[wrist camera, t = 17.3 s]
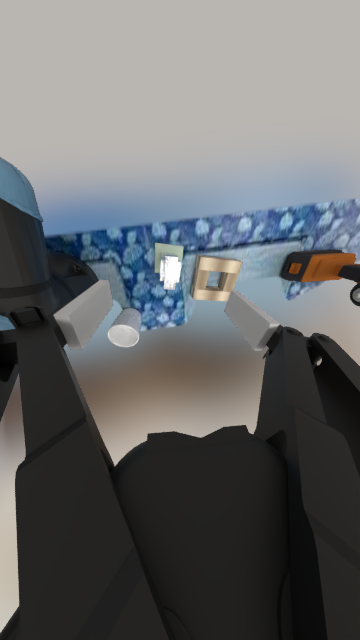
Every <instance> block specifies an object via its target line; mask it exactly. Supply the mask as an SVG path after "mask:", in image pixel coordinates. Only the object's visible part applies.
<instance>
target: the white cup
mask: <svg viewBox="0 0 360 640" xmlns="http://www.w3.org/2000/svg"><path fill="white" fill-rule="evenodd" d="M141 321H142V316H141V314H140V312H139V311H137V310H136V309H133V308H126V309H124V310H123V311H122V312H121V313H120V315H119V316H118V317H117V319H116V320H115V321H114V323H113V324H112V326H111V327H110V329H109V331H108V338H109V339H110V341H111V342H112V343H114V344H115V345H117V346H121V347H130V346H133V345H135V344H136V343H137V342H138V339H139V334H140V329H141Z"/></svg>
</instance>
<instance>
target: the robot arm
mask: <svg viewBox="0 0 360 640" xmlns="http://www.w3.org/2000/svg"><path fill="white" fill-rule="evenodd" d="M42 222H43V219H42V217H41V216H40V213H39V210H38V206H37V202H36V198H35V194H34V190H33V188H32V186H31V184H30V182H29V181H28V179H27V178H26V177H25V176H24V175H23V174H22V173H21V172H20V171H19V170H18V169H17V168H16V167H14V166H13V165H12V164H10V163H9V162H7V161H6V160H4V159H2V158H1V157H0V421H1V418H2V416H3V413H4V410H5V408H6V405H7V402H8V400H9V397H10V395H11V392H12V389H13V386H14V384H15V381H16V378H17V376H18V373H19V377H20V388H21V401H22V411H23V423H24V434H25V446H26V457H25V460H24V461H23V462H22V463H21V464H20V465H19V466H18V468H17V471H16V478H15V497H16V522H17V548H18V549H17V550H18V576H19V577H18V578H19V607H18V608H17V610H16V611H15V613H14V614H13V616H12V617H11V618H10V620H9V621H8V623H7V624H6V626H5V627H4V629H3V630H2V632H1V633H0V640H360V366H359V365H358V364H357V363H356V362H355V361H354V360H353V359H352V358H351V357H350V356H349V355H348V354H347V353H346V352H345V351H344V350H343V349H342V348H341V347H340V346H339V345H338V344H337V343H336V342H335V341H334V340H332V339H331V338H329V337H328V336H326V335H324V334H319V333H313V334H312V336H311V337H310V338H309V337H304V336H303V334H302V333H301V332H299V331H298V330H296V329H294V328H291V327H282V326H281V325H280V324H279V323H278V322H276V321H275V320H274V319H273V318H271V317H270V316H269V315H268V314H266V313H265V312H264V311H263V310H261V309H260V308H259V307H258V306H256V305H255V304H254V303H252V302H251V301H250V300H249V299H247V298H246V297H245V296H244V295H242V294H241V293H240V292H239V291H235V290H231V293H230V296H229V298H228V301H227V304H226V307H225V310H224V311H225V313H226V314H227V315H228V317H229V318H230V319H231V320H232V322H233V323H234V325H235V326H236V327H237V329H238V330H239V331H240V332H241V334H242V335H243V336H244V338H245V339H246V340H247V342H248V343H249V344H250V345H251V347H252V348H253V349H254V350H256V351H257V350H258V351H261V350H263V349H264V347H265V346H266V345H267V346H268V348H269V349H268V351H267V352H266V353H265V355H264V356H263V359H264V358H265V357H266V361H265V368H264V375H263V383H262V390H261V398H260V405H259V413H258V421H257V427H256V430H255V432H254V434H250V433H249V432H248V429H247V427H246V425H241V426H230V427H223V428H221V429H219V430H217V431H215V432H213V433H211V434H209V435H207V436H205V437H202V438H198V437H195V436H190V435H186V434H182V433H178V432H174V431H173V432H162V433H151V434H148V436H147V441H145V442H143V443H141V444H139V445H138V446H136V447H134V448H133V449H132V450H131V451H129V452H128V453H127V454H126V455H125V456H124V457H123V458H122V459H121V460H120V461H119V462H118V464H117V465H116V466H114V463H113V461H112V459H111V456H110V454H109V452H108V450H107V448H106V446H105V444H104V442H103V439H102V437H101V435H100V433H99V430H98V428H97V425H96V423H95V421H94V418H93V416H92V414H91V411H90V409H89V407H88V404H87V402H86V400H85V397H84V395H83V393H82V390H81V388H80V386H79V383H78V381H77V378H76V376H75V374H74V371H73V369H72V367H71V364H70V362H69V360H68V357H67V355H66V353H65V350H64V349H63V347H64V346H65V345H66V344H68V346H69V348H70V349H81V350H82V349H83V348H84V346H85V345H86V344H87V342H88V341H89V339H90V338H91V336H92V335H93V334H94V332H95V331H96V329H97V328H98V326H99V325H100V324H101V322H102V321H103V319H104V318H105V316H106V315H107V313H108V312H109V311H110V309H111V308H112V306H113V301H112V295H111V290H110V284H109V280H99V281H98V278H97V277H96V275H95V273H94V272H93V271H92V270H91V269H90V267H89V266H87V265H86V264H85V263H84V262H82V261H81V260H79V259H78V258H76V257H74V256H72V255H69V254H66V253H62V252H50V253H47V248H46V243H45V238H44V232H43V226H42ZM321 358H322V362H321V364H320V365H319V366H318V365H317V364H316V363H317V362H318V361H319V360H320V359H321Z"/></svg>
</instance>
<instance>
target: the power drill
mask: <svg viewBox="0 0 360 640" xmlns="http://www.w3.org/2000/svg"><path fill="white" fill-rule="evenodd" d="M355 256H356V254H352V253H344V252H342V250H319V251H303V252H293V253H292V254H290V255H289V257H288V260H287V263H286V266H285V269H284V271H283V274H282V277H281V278H283V279H286V280H289V281H299V282H312V281H325V280H339V279H341V278H345V279H349V280H353V281H355V282H357V285H355V286H354V288H353V289H352V290H351V292H350V299H351V301H352V302H353V303H354V304H355V305H357V306H360V264H354V262H355V260H356V258H355Z"/></svg>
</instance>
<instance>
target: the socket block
mask: <svg viewBox="0 0 360 640" xmlns="http://www.w3.org/2000/svg"><path fill="white" fill-rule="evenodd" d="M242 263H243V262H242V261H239V260H236V259H229V258H221V257H213V256H204V255H197V260H196V266H195V271H194V277H193V283H192V289H191V296H192V298H193V299H199V300H214V301H228V298H229V296H230V293H231V290H233V288H234V285H235V283H236V280H237V277H238V274H239V272H240V269H241V266H242ZM209 271H217V272H222V274H221V277H220V281H219V284H218V287H215V286H206V284H207V279H208V275H209Z"/></svg>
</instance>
